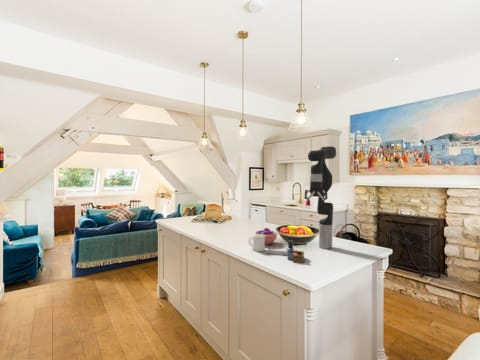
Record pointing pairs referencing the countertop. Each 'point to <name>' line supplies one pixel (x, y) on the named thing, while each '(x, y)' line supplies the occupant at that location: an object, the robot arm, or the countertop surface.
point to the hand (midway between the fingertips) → (315, 205)
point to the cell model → (268, 235)
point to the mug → (258, 242)
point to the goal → (298, 257)
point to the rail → (277, 252)
